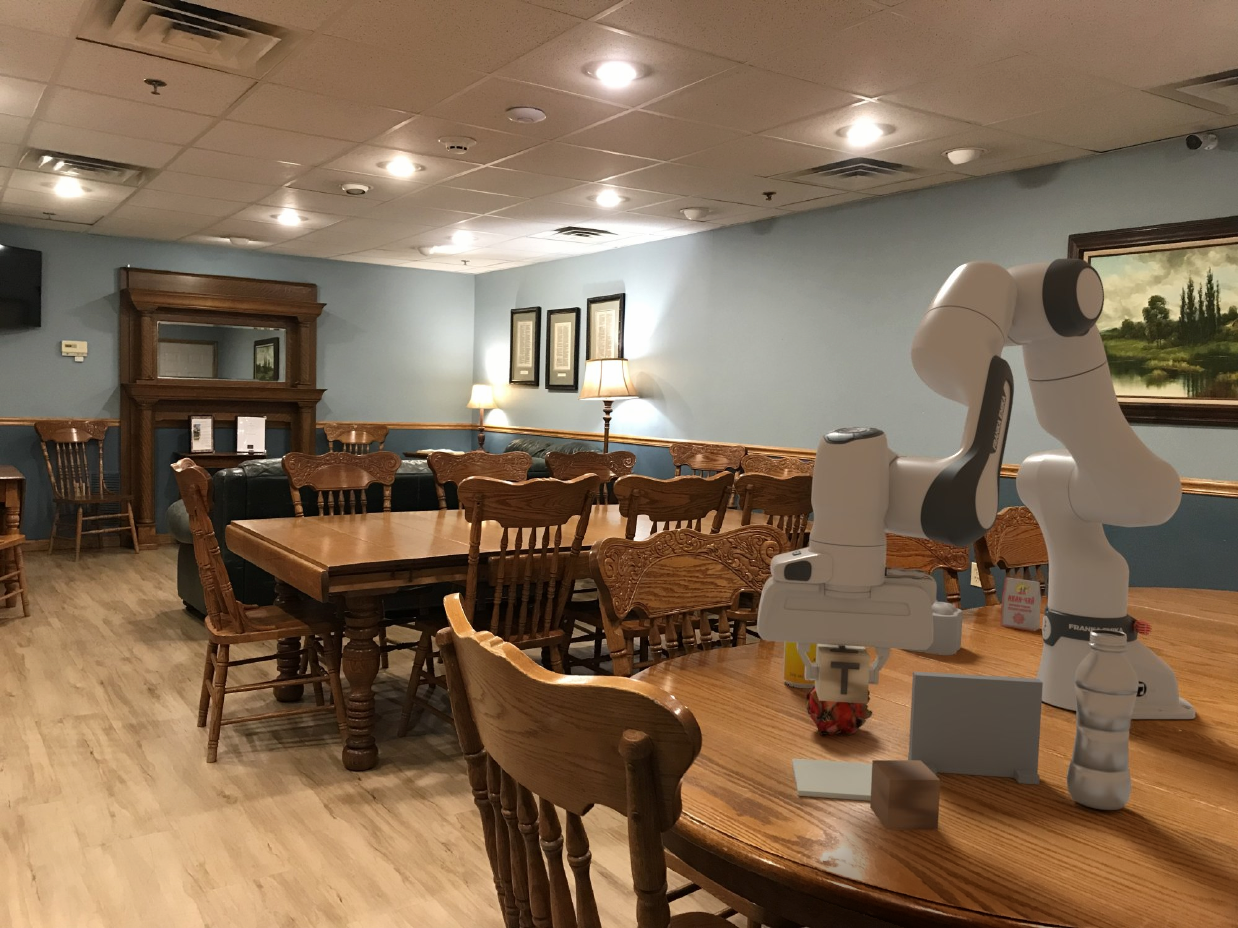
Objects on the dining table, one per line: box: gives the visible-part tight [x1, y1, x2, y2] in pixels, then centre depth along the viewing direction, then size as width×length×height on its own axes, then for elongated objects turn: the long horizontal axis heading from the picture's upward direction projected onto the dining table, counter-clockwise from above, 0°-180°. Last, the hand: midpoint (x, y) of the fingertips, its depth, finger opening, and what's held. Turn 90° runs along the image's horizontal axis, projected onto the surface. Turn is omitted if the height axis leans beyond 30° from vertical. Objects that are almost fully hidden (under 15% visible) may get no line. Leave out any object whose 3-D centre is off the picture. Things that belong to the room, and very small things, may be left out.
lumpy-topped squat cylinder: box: [904, 599, 963, 656], centre depth 180 cm, size 10×13×9 cm
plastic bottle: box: [1065, 629, 1139, 811], centre depth 108 cm, size 6×7×20 cm
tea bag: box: [999, 577, 1042, 632], centre depth 198 cm, size 4×7×10 cm, turn 51°
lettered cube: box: [815, 644, 871, 705], centre depth 112 cm, size 6×6×6 cm
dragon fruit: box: [805, 683, 873, 736], centre depth 131 cm, size 8×8×12 cm
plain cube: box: [869, 759, 941, 831], centre depth 103 cm, size 6×6×6 cm
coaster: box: [791, 757, 872, 802], centre depth 113 cm, size 10×10×1 cm
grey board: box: [907, 671, 1043, 785], centre depth 117 cm, size 15×5×12 cm, turn 84°
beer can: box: [782, 642, 817, 689], centre depth 152 cm, size 6×6×15 cm
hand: (840, 681), depth 112 cm, fingers closed on lettered cube, 5 cm apart
